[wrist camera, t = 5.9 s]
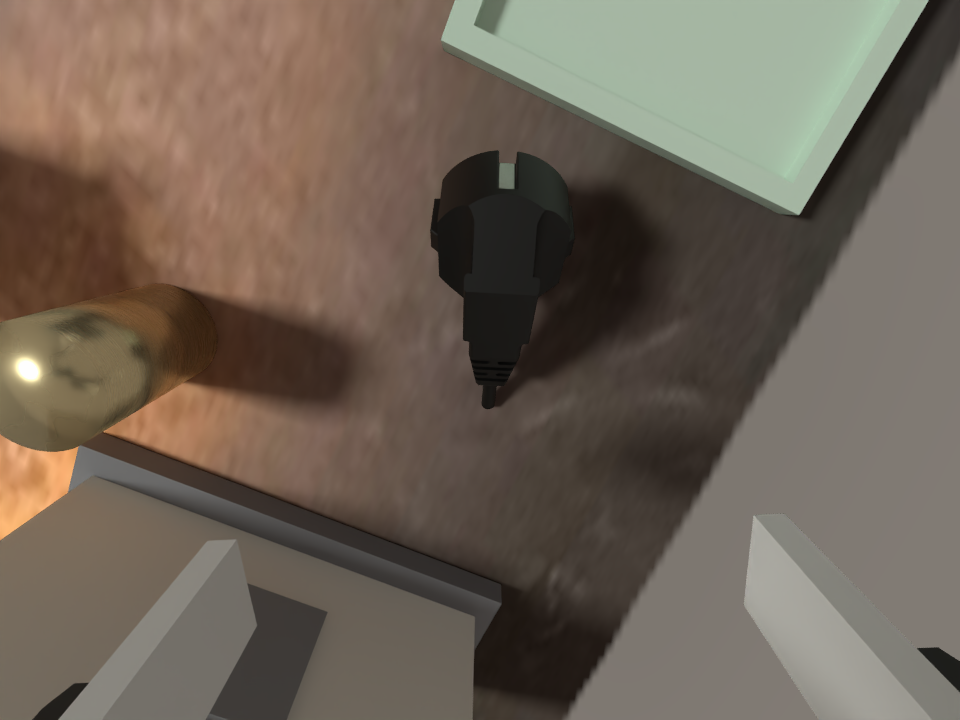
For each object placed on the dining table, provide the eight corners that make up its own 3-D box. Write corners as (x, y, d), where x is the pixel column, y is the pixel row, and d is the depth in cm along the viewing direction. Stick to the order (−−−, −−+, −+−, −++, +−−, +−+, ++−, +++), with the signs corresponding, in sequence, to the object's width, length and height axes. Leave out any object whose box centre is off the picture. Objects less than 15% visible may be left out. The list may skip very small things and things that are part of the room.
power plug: (432, 414, 26) (418, 235, 16) (444, 302, 30) (438, 105, 20) (542, 420, 26) (595, 245, 16) (538, 307, 30) (578, 114, 20)
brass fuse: (106, 286, 25) (-61, 325, 17) (204, 280, 25) (81, 316, 17) (133, 381, 27) (-9, 455, 19) (226, 376, 26) (121, 448, 19)
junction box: (66, 570, 30) (-266, 864, 17) (100, 431, 27) (-266, 652, 14) (435, 697, 33) (402, 1036, 20) (500, 584, 30) (513, 889, 17)
